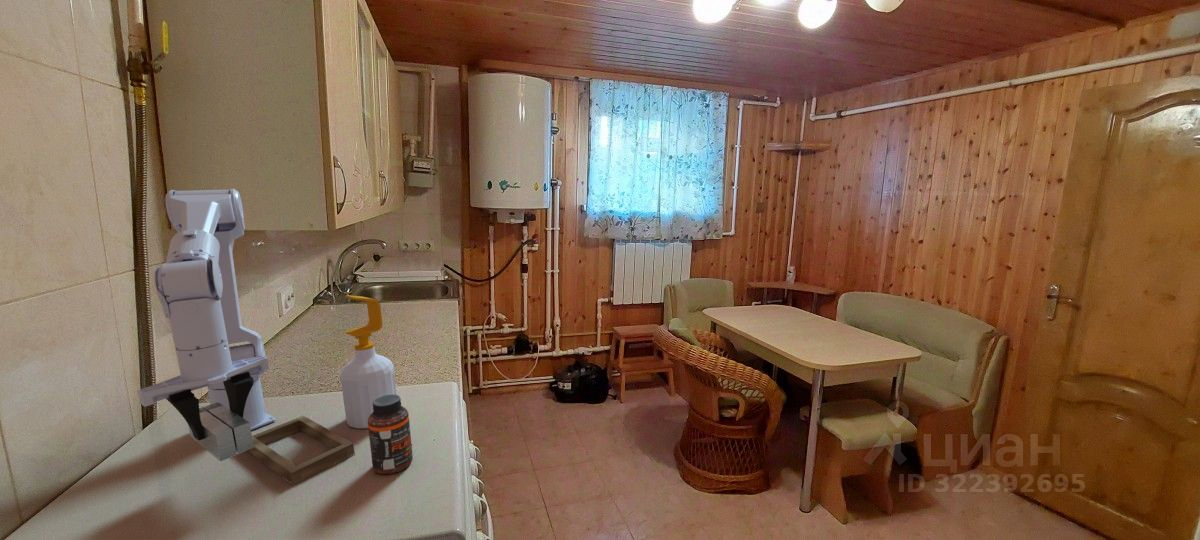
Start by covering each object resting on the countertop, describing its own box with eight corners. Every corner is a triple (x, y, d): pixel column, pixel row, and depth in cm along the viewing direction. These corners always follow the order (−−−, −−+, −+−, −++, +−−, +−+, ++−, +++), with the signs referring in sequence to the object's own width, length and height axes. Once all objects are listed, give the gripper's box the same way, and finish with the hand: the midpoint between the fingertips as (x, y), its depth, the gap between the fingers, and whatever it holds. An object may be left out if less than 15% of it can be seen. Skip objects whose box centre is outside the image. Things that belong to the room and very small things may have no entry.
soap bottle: (337, 421, 88) (320, 296, 84) (382, 402, 96) (369, 286, 91) (362, 435, 83) (345, 303, 79) (408, 413, 91) (395, 292, 86)
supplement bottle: (398, 478, 71) (390, 410, 69) (364, 474, 72) (355, 407, 70) (420, 455, 77) (414, 392, 74) (389, 452, 78) (381, 389, 76)
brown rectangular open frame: (246, 449, 79) (244, 439, 79) (304, 425, 87) (303, 415, 87) (293, 484, 70) (291, 473, 69) (354, 454, 77) (353, 443, 77)
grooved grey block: (190, 436, 71) (185, 412, 70) (222, 425, 74) (218, 402, 73) (220, 461, 64) (215, 435, 63) (254, 447, 67) (249, 422, 66)
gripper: (140, 366, 58) (162, 464, 61) (271, 334, 70) (285, 416, 72) (125, 355, 62) (147, 447, 64) (252, 326, 74) (265, 405, 76)
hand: (219, 430), depth 69 cm, fingers closed on grooved grey block, 4 cm apart
